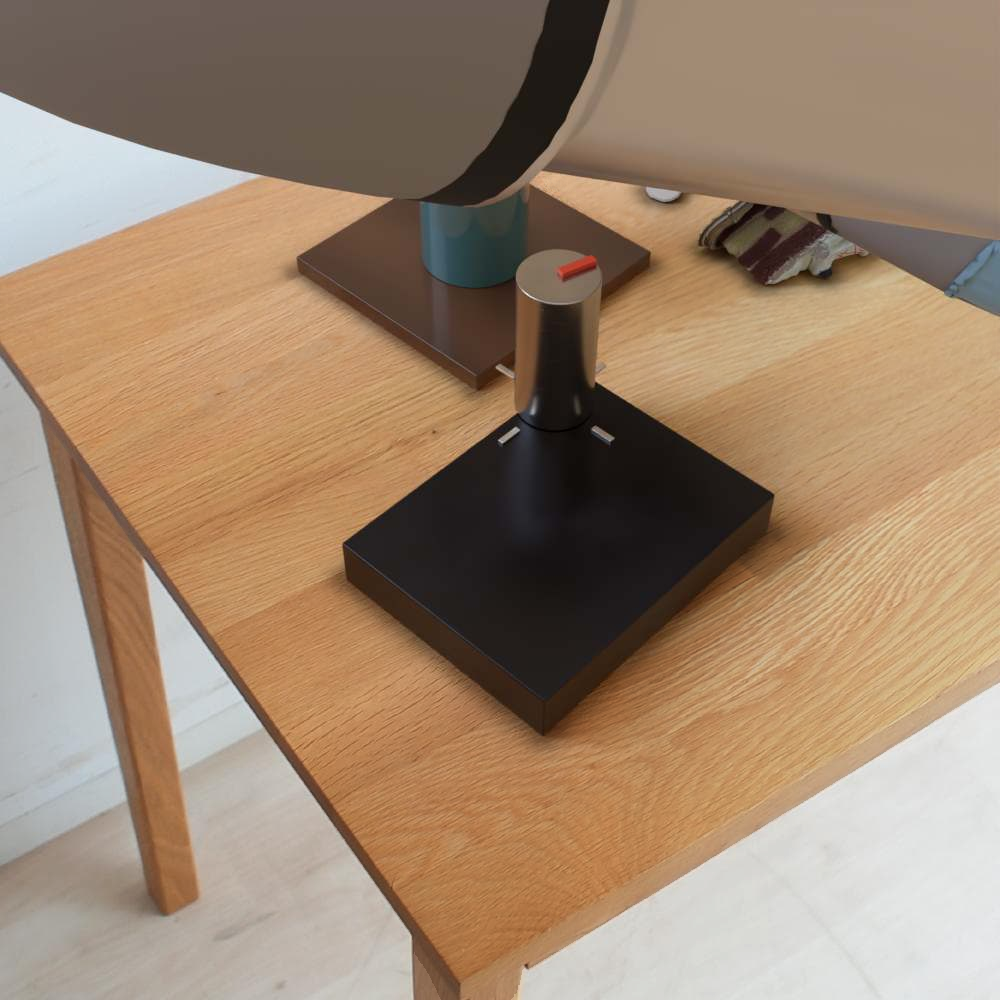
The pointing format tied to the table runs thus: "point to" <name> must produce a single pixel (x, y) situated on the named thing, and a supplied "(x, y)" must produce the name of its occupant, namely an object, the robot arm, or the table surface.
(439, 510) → the hob
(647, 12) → the robot arm
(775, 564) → the table surface
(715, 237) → the chocolate cake
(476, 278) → the pot
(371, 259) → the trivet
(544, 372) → the knob
